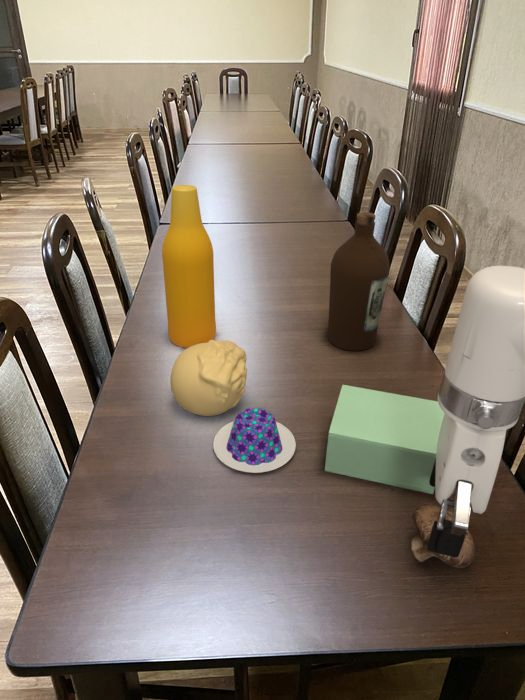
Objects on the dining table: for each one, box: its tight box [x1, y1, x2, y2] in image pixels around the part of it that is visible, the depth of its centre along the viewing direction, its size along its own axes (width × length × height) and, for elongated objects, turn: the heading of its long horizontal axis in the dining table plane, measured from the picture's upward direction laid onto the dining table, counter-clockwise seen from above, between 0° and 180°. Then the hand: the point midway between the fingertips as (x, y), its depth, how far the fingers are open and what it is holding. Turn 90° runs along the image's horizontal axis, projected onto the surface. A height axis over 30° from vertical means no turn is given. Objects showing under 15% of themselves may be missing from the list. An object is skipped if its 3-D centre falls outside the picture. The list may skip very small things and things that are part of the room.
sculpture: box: [169, 339, 248, 417], centre depth 84 cm, size 11×12×11 cm
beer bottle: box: [161, 184, 217, 349], centre depth 98 cm, size 9×9×29 cm
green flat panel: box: [327, 384, 444, 457], centre depth 74 cm, size 15×12×1 cm
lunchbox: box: [324, 436, 436, 495], centre depth 76 cm, size 15×12×6 cm
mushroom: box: [410, 503, 476, 569], centre depth 62 cm, size 8×8×6 cm
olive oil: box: [327, 211, 390, 352], centre depth 100 cm, size 11×11×25 cm
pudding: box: [212, 407, 297, 474], centre depth 77 cm, size 12×12×5 cm
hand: (442, 517), depth 61 cm, fingers open, 9 cm apart
